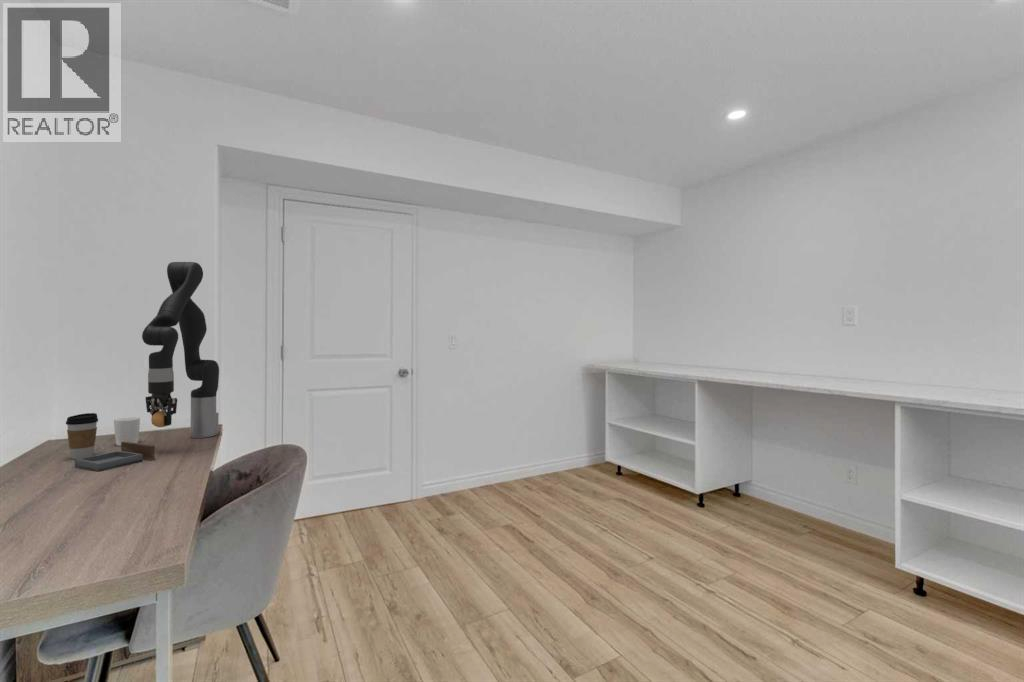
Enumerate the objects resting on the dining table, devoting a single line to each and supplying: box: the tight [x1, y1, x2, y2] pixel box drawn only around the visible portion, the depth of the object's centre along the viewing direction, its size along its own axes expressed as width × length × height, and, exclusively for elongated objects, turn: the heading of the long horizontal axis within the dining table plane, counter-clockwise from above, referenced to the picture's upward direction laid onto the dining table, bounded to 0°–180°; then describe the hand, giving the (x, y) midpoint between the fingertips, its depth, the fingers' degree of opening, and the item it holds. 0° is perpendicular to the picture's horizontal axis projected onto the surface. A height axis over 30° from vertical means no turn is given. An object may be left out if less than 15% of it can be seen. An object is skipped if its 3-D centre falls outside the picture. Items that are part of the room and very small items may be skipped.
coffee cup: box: [65, 412, 99, 460], centre depth 159 cm, size 8×8×15 cm
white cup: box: [113, 416, 141, 447], centre depth 178 cm, size 8×8×10 cm
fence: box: [120, 441, 156, 461], centre depth 159 cm, size 1×16×5 cm, turn 71°
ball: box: [150, 410, 173, 428], centre depth 166 cm, size 6×6×6 cm
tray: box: [74, 450, 143, 472], centre depth 151 cm, size 13×13×2 cm
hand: (161, 424), depth 166 cm, fingers closed on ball, 6 cm apart
